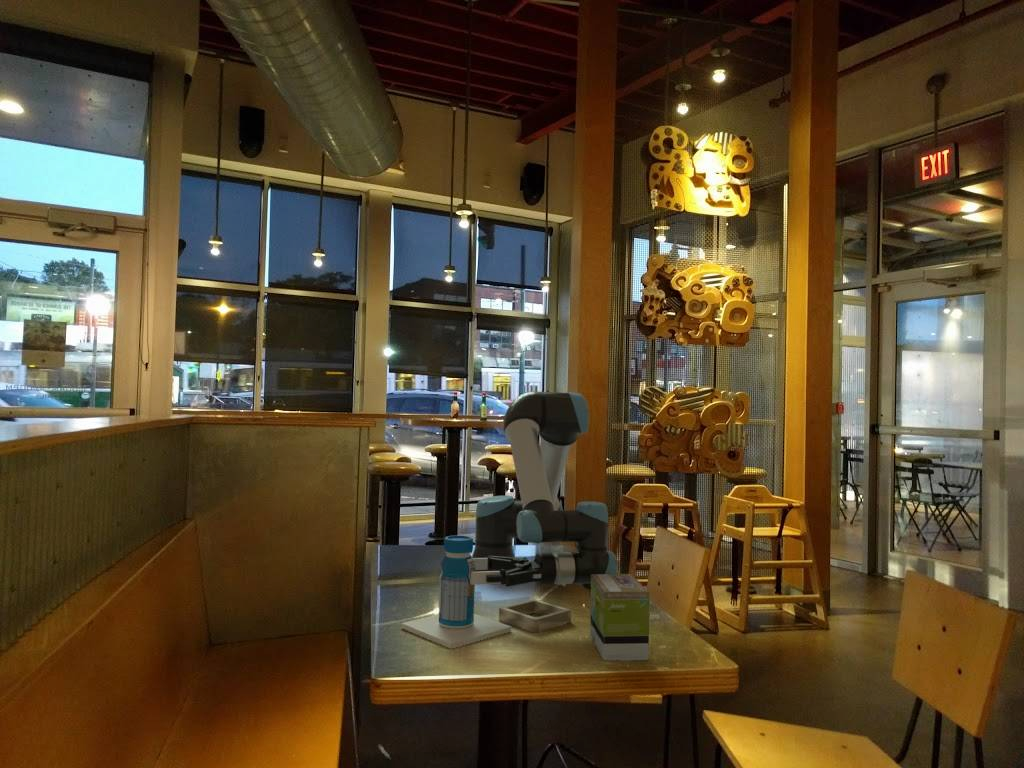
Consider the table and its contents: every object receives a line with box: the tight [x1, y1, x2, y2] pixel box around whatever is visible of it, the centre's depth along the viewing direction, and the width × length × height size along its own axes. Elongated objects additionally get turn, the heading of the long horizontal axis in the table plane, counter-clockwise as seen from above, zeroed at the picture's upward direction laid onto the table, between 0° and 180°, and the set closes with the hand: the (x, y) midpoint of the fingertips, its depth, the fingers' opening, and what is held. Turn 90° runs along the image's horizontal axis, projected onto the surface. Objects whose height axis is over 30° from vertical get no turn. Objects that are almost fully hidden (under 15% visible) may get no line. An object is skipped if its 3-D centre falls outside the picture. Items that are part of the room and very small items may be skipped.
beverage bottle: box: [438, 534, 476, 629], centre depth 165 cm, size 8×8×20 cm
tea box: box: [589, 573, 650, 662], centre depth 155 cm, size 15×10×15 cm, turn 5°
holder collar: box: [498, 598, 572, 634], centre depth 173 cm, size 12×12×3 cm
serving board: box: [401, 613, 512, 650], centre depth 164 cm, size 18×18×1 cm
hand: (465, 571), depth 165 cm, fingers open, 13 cm apart
